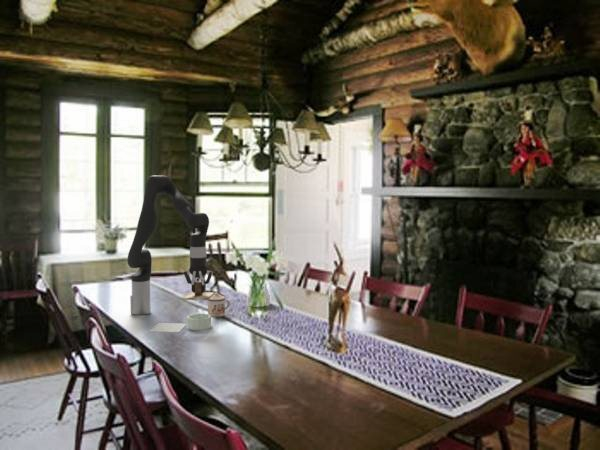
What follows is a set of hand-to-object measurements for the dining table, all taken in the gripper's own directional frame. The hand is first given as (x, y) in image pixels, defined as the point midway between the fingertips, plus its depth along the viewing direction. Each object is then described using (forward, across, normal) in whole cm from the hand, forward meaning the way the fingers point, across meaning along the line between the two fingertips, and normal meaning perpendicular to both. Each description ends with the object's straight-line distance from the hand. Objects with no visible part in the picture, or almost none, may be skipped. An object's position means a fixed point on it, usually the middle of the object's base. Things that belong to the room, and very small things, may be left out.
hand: (198, 292), depth 242 cm
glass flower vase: (+17, +21, +49) cm, 56 cm away
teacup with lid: (+17, +4, +25) cm, 31 cm away
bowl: (+17, 0, 0) cm, 17 cm away
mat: (+17, -14, -2) cm, 22 cm away
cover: (+2, 0, 0) cm, 2 cm away
